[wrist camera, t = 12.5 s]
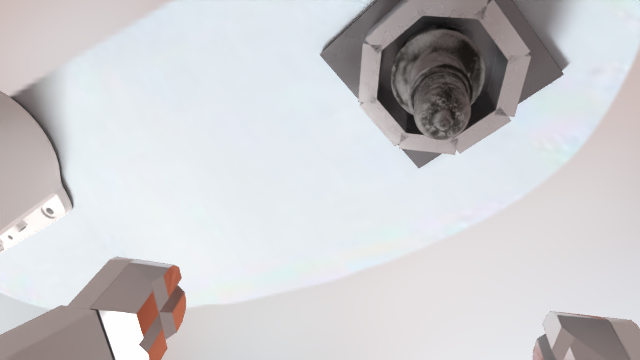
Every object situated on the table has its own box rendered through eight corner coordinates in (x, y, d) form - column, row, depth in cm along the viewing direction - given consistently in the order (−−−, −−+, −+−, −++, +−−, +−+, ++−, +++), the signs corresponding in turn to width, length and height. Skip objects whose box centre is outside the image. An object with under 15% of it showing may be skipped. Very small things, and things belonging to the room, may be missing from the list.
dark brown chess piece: (381, 88, 32) (365, 159, 22) (411, 8, 29) (407, 46, 19) (456, 113, 32) (475, 197, 22) (494, 35, 29) (537, 89, 18)
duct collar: (418, 165, 35) (419, 194, 31) (321, 52, 32) (308, 69, 28) (561, 72, 30) (583, 93, 26) (459, -75, 27) (466, -76, 23)
